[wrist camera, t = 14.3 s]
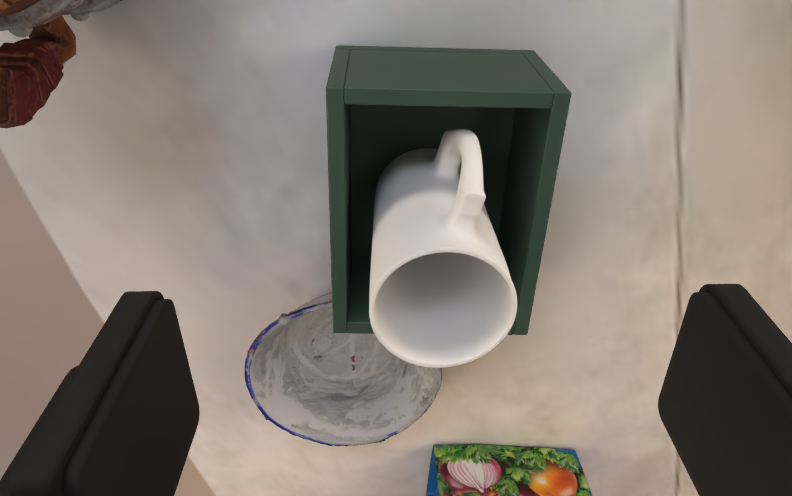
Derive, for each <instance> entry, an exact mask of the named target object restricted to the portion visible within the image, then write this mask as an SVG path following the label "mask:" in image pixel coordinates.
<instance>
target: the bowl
mask: <svg viewBox="0 0 792 496" xmlns="http://www.w3.org/2000/svg"><path fill="white" fill-rule="evenodd" d="M441 371H442V369H441V368H432V367H423V366H418V365H415V364H412V363H409V362H406V361H404V360H402V359H400V358H398V357H397V356H395V355H394V354H392V353H391V352H389V351H388V350H387V349H386V348H385V347H384V346H383V345H382V344H381V343H380V341H379V340H378V338H377V337H376V335H375V334H353V333H333V311H332V294H328V295H324V296H321V297H319V298H316V299H314V300H312V301H310V302H308V303H306V304H304V305H302V306H300V307H299V308H297V309H295V310H294V311H292V312H290V313H289V314H284V313H283V314H281V316H280V317H279V319H278V320H276V321H274V322H272V323H271V324H270V325H269V326H267V327H266V328H265V329H264V330H263V331H262V332H261V333H260V334H259V335H258V337H257V338H256V339H255V340H254V342H253V343H252V345H251V346H250V348H249V351H248V354H247V358H246V361H245V381H246V386H247V388H248V390H249V393H250V395H251V397H252V399H253V400H254V402H255V404H256V405H257V406H258V408H259V410H260V411H261V412H262V414H263V415H264V416H265V418H266V420H269V421H271V422H273V423H274V424H275V425H277V426H278V427H280V428H281V429H283V430H286V431H287V432H289V433H290V434H292V435H295V436H299V437H301V438H303V439H307V440H311V441H314V442H317V443H320V444H326V445H329V446H332V445H334V446H348V445H364V444H370V443H378V442H381V441H385V439H388V438H389V437H391V436H393V435H396V434H398V433H399V432H401V431H403V430H404V429H406V428H408V427H409V426H410V425H411V424H413V423H414V422H415V421H417V420H418V419H419V418H420V417H421V416H422V415H423V414H424V413H425V412H426V411H427V410H428V408H429V407H430V405H431V404H432V402H433V401H434V399H435V397H436V394H437V392H438V390H439V388H440V386H441V381H442V372H441Z"/></svg>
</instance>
